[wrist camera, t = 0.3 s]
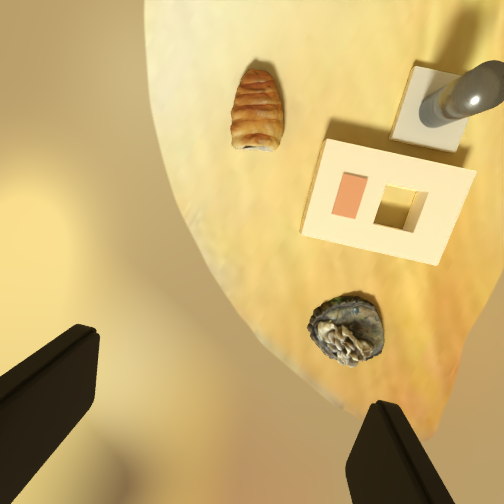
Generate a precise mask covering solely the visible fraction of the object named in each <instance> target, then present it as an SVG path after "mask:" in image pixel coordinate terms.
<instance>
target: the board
mask: <svg viewBox="0 0 504 504" xmlns="http://www.w3.org/2000/svg"><path fill="white" fill-rule="evenodd" d="M476 173H477V171H474V170H469V169H465V168H460V167H456V166H451V165H446V164H442V163H437V162H433V161H428V160H424V159H419V158H414V157H410V156H405V155H401V154H396V153H391V152H387V151H382V150H378V149H373V148H368V147H364V146H359V145H355V144H350V143H345V142H341V141H336V140H332V139H326V140H325V141H324V142H323V143H322V147H321V151H320V155H319V158H318V162H317V166H316V170H315V173H314V177H313V181H312V185H311V188H310V192H309V196H308V200H307V204H306V207H305V211H304V215H303V219H302V222H301V226H300V230H299V232H300V234H301V235H304V236H308V237H313V238H317V239H321V240H326V241H330V242H334V243H339V244H343V245H348V246H352V247H356V248H361V249H365V250H370V251H374V252H378V253H383V254H387V255H392V256H396V257H400V258H405V259H409V260H413V261H418V262H422V263H427V264H431V265H435V266H438V264H439V261H440V259H441V256H442V254H443V252H444V249H445V247H446V244H447V242H448V240H449V237H450V235H451V233H452V230H453V228H454V225H455V223H456V221H457V218H458V216H459V213H460V211H461V209H462V206H463V204H464V201H465V199H466V197H467V194H468V192H469V189H470V187H471V185H472V182H473V180H474V178H475V175H476ZM386 185H389V186H394V187H399V188H403V189H408V190H412V191H416V194H415V196H414V199H413V202H412V204H411V207H410V210H409V213H408V215H407V218H406V221H405V223H404V226H403V229H399V228H394V227H390V226H385V225H381V224H376V223H373V222H374V219H375V216H376V213H377V210H378V207H379V204H380V201H381V198H382V195H383V193H384V190H385V187H386Z"/></svg>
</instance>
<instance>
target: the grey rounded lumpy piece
mask: <svg viewBox="0 0 504 504" xmlns="http://www.w3.org/2000/svg"><path fill="white" fill-rule="evenodd" d="M307 329H308V331H309V332H310V333H311V334H310V337H311V339H312V340H313V341H314V342H315V343H316V345H317V346H318V347H319V348H321V350H322V351H323V353H324V354H325V355H328V356H329V358H330V359H336V360H338V363H340V364H342V365H348V366H350V367H355V366H357V364H358V362H359V361H367V360H368V359H371V358H373V356H377V355H379V354H381V352H382V349H383V346H384V333H383V327H382V323H381V320H380V318H379V315H378V313H377V310H375V306H374V305H373V304H372V303H370V302H368V301H367V300H364V299H362V298H360V297H351V296H341V297H337V298H334V299H333V300H331V301H329V302H326V303H323V304H322V305H321V307H318V308H317V309H315V310H314V311H313V316H312V317H311V319H310V323H309V324H308V327H307Z"/></svg>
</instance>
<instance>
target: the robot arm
mask: <svg viewBox="0 0 504 504" xmlns="http://www.w3.org/2000/svg"><path fill="white" fill-rule="evenodd" d="M99 342H100V335H99V334H98V333H96V329H95V328H93V327H89V326H85V325H81V324H76V325H74V326H72V327H71V328H69V329H68V330H67V331H65V332H64V333H62V334H61V335H59V336H58V337H57V338H55V339H54V340H52V341H51V342H49V343H48V344H47V345H45V346H44V347H42V348H41V349H39V350H38V351H36V352H35V353H33V354H32V355H31V356H29V357H28V358H26V359H25V360H24V361H22V362H21V363H19V364H18V365H16V366H15V367H13V368H12V369H10V370H9V371H8V372H6V373H5V374H3V375H2V376H0V504H11V503H12V502H13V500H14V499H15V498H16V497H17V496H18V494H19V493H20V492H21V491H22V490H23V488H24V487H25V486H26V485H27V484H28V482H29V481H30V480H31V479H32V477H33V476H34V475H35V474H36V473H37V471H38V470H39V469H40V468H41V467H42V465H43V464H44V463H45V461H47V459H48V458H49V457H50V455H52V453H53V452H54V451H55V450H56V449H57V447H58V446H59V445H60V444H61V442H62V441H63V440H64V439H65V438H66V437H67V435H68V434H69V433H70V432H71V430H72V429H73V428H74V427H75V426H76V424H77V423H78V422H79V421H80V420H81V418H82V417H83V416H84V415H85V414H86V412H87V411H88V410H89V408H90V407H91V405H92V403H93V401H94V397H95V387H96V375H97V364H98V353H99ZM345 468H346V469H345V470H346V471H345V472H346V478H347V482H348V486H349V491H350V495H351V499H352V503H353V504H455V503H454V501H453V499H452V498H451V496H450V494H449V492H448V490H447V489H446V487H445V485H444V484H443V482H442V480H441V478H440V476H439V475H438V473H437V471H436V469H435V468H434V466H433V464H432V462H431V461H430V459H429V457H428V455H427V454H426V452H425V450H424V448H423V447H422V445H421V443H420V441H419V439H418V438H417V436H416V434H415V432H414V431H413V429H412V427H411V425H410V424H409V422H408V420H407V418H406V417H405V415H404V413H403V411H402V410H401V408H400V407H399V405H397V404H394V403H390V402H386V401H382V400H378V401H377V402H376V403H375V404H374V403H372V404H371V406H370V408H369V410H368V412H367V415H366V417H365V419H364V422H363V424H362V427H361V429H360V431H359V434H358V436H357V438H356V441H355V443H354V445H353V448H352V450H351V453H350V455H349V457H348V460H347V462H346V467H345Z"/></svg>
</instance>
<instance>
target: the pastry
mask: <svg viewBox="0 0 504 504" xmlns="http://www.w3.org/2000/svg"><path fill="white" fill-rule="evenodd" d="M231 117H232V125H231V128H230V130H231V134H232V143H231V144H232V146H233V147H234V148H235V149H243V150H246V151H251V150H261V151H264V152H271V151H274V150H276V149H277V148H278V146H279V145H280V141H281V138H282V136H283V133H284V125H283V109H282V103H281V100H280V97H279V93H278V91H277V87H276V84H275V80H274V78H273V77H272V76H271V75H270V74H269V73H268V72H266V71H263V70H257V69H254V68H251V69H250V70H248V72H247V73H246V74H245V75H244V76H243V77H242V79H241V82H240V85H239V87H238V88H237V93H236V95H235V100H234V106H233V108H232V111H231Z"/></svg>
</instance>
